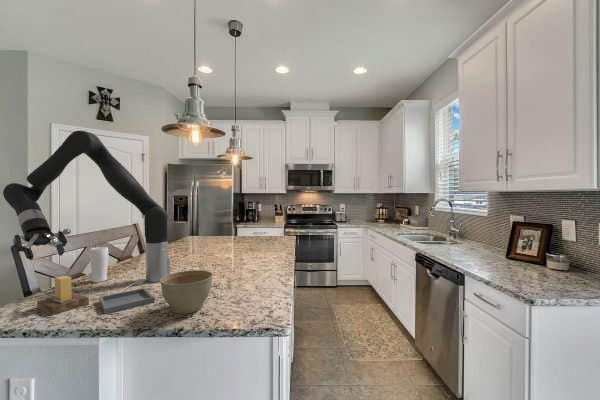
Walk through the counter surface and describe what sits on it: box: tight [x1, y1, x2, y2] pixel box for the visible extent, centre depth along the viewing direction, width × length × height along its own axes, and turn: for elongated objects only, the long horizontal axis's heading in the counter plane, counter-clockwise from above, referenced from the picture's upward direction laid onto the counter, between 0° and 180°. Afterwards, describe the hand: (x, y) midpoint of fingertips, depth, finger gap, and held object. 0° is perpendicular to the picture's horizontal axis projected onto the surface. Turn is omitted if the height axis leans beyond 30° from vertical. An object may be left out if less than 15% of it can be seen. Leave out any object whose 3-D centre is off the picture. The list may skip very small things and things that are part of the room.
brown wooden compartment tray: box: [36, 291, 90, 316], centre depth 95 cm, size 10×12×3 cm
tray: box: [98, 287, 156, 315], centre depth 98 cm, size 15×15×2 cm
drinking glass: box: [89, 246, 109, 283], centre depth 125 cm, size 7×7×15 cm
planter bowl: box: [159, 269, 213, 315], centre depth 92 cm, size 16×16×11 cm
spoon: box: [114, 278, 146, 294], centre depth 113 cm, size 4×21×2 cm, turn 175°
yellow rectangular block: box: [54, 275, 73, 302], centre depth 95 cm, size 3×4×10 cm, turn 62°
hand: (47, 256), depth 101 cm, fingers open, 8 cm apart
